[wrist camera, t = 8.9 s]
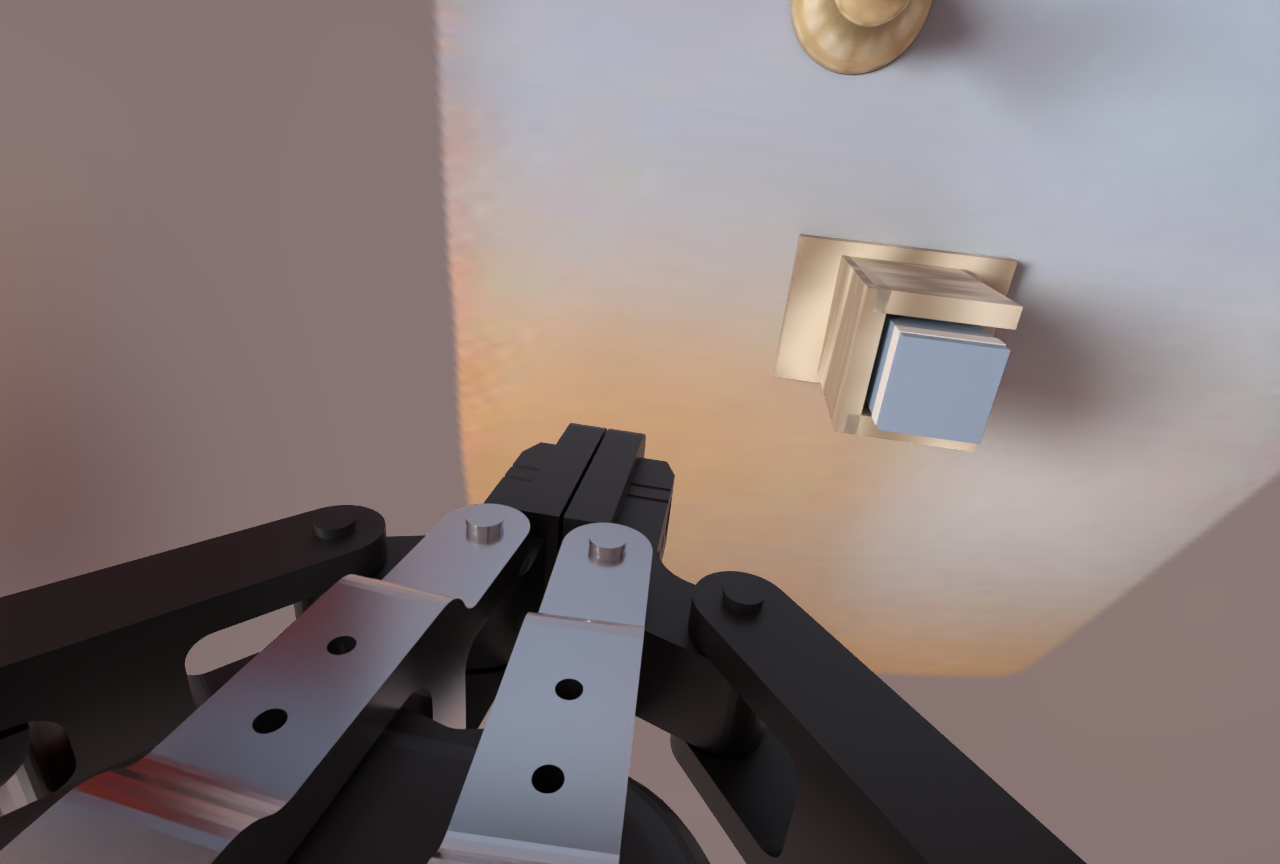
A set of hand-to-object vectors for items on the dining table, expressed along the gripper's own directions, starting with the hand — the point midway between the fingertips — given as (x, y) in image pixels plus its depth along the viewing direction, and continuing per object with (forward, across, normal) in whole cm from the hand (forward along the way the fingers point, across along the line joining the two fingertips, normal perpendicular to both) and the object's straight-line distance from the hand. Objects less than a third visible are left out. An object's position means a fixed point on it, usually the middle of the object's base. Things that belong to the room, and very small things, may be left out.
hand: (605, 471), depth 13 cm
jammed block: (+36, -13, +4) cm, 38 cm away
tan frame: (+37, -13, +4) cm, 39 cm away
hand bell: (+37, -7, -15) cm, 41 cm away
